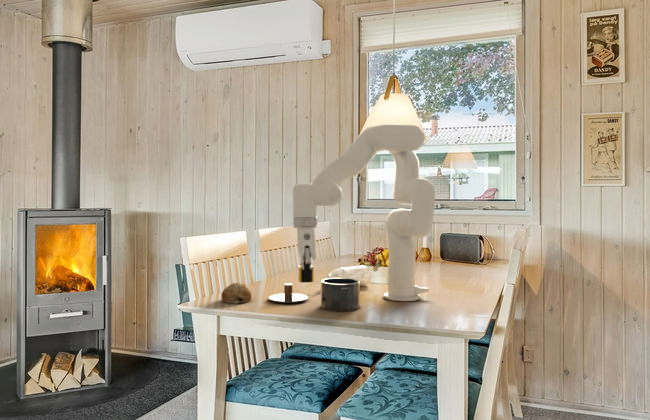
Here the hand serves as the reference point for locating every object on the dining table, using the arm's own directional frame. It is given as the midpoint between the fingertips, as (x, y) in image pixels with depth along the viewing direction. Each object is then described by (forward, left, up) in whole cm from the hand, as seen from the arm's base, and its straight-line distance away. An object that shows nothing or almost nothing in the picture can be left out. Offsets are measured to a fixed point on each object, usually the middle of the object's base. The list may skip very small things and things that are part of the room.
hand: (306, 280), depth 165 cm
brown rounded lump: (+22, -17, -10) cm, 30 cm away
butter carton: (0, 0, 0) cm, 0 cm away
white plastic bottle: (-21, -38, -10) cm, 44 cm away
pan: (-12, -4, -10) cm, 15 cm away
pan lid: (+5, -16, -9) cm, 19 cm away
